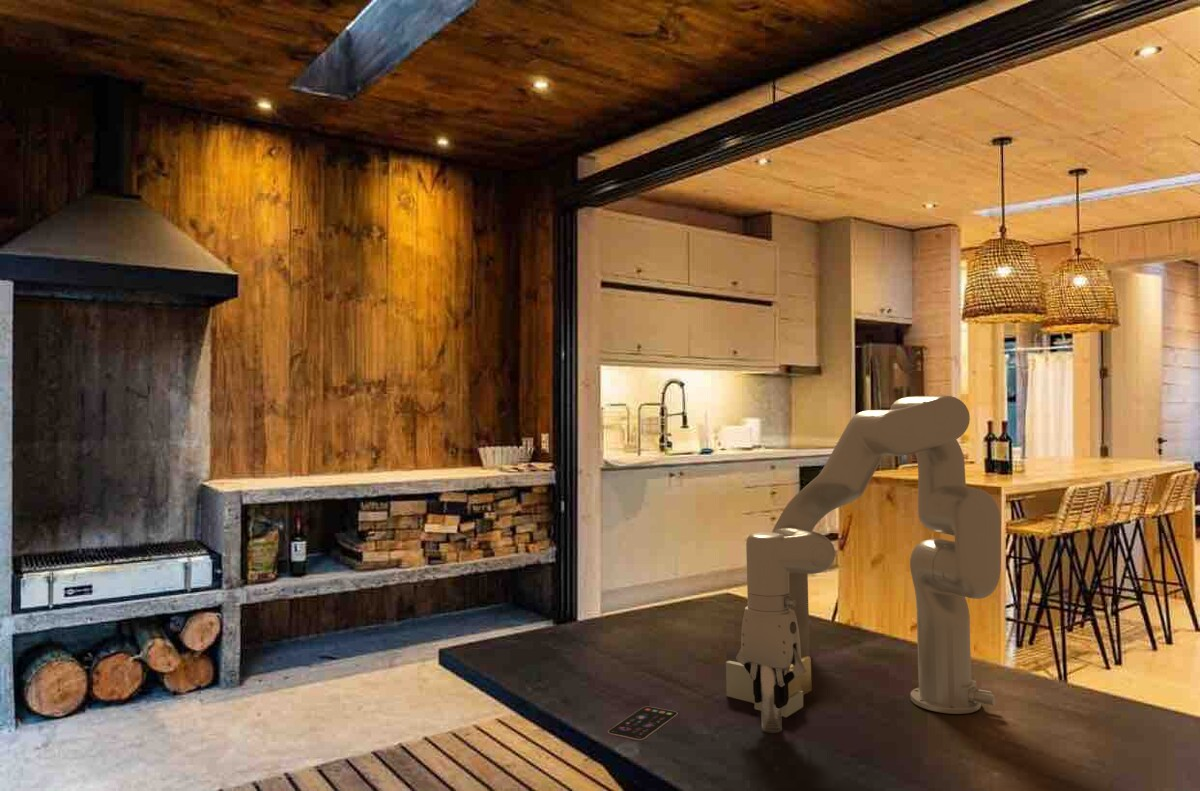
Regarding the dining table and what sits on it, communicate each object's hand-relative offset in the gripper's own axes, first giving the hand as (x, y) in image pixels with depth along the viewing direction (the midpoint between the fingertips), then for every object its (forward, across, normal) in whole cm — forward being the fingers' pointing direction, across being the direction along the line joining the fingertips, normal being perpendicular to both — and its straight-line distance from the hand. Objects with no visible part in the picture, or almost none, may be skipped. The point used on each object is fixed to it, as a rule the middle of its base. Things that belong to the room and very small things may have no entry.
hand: (771, 702), depth 146 cm
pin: (+5, 0, 0) cm, 5 cm away
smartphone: (+5, +20, +12) cm, 24 cm away
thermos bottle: (+5, +18, -42) cm, 46 cm away
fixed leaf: (+5, +4, -15) cm, 16 cm away
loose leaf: (+5, +8, -10) cm, 14 cm away
